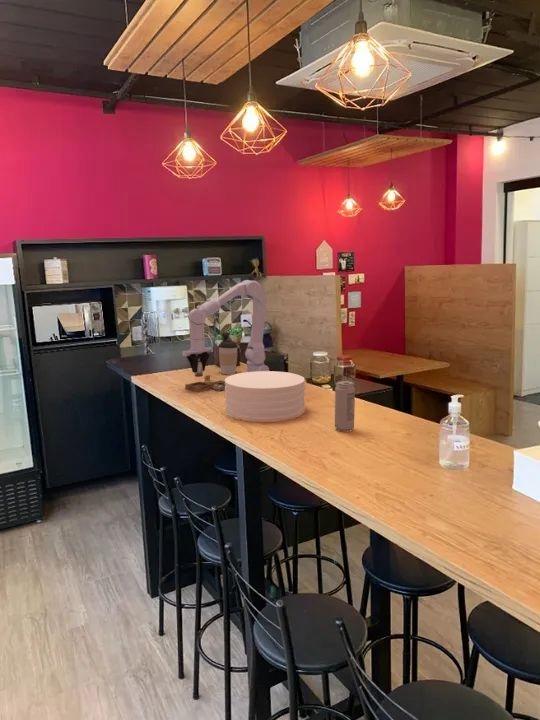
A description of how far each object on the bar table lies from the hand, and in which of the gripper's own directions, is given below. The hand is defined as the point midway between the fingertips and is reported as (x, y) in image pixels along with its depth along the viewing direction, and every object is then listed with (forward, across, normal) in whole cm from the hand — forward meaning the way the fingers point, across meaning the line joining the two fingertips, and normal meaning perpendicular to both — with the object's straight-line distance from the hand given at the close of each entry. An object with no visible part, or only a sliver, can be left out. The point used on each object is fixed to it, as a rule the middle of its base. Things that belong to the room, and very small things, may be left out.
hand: (198, 371), depth 228 cm
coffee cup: (+8, -30, -15) cm, 34 cm away
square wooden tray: (+7, 0, 0) cm, 7 cm away
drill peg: (+2, 0, 0) cm, 2 cm away
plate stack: (+8, +5, +43) cm, 44 cm away
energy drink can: (+8, +5, +77) cm, 78 cm away
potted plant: (+8, -42, -28) cm, 51 cm away
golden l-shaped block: (+7, -9, -2) cm, 11 cm away
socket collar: (+7, -8, +3) cm, 12 cm away
